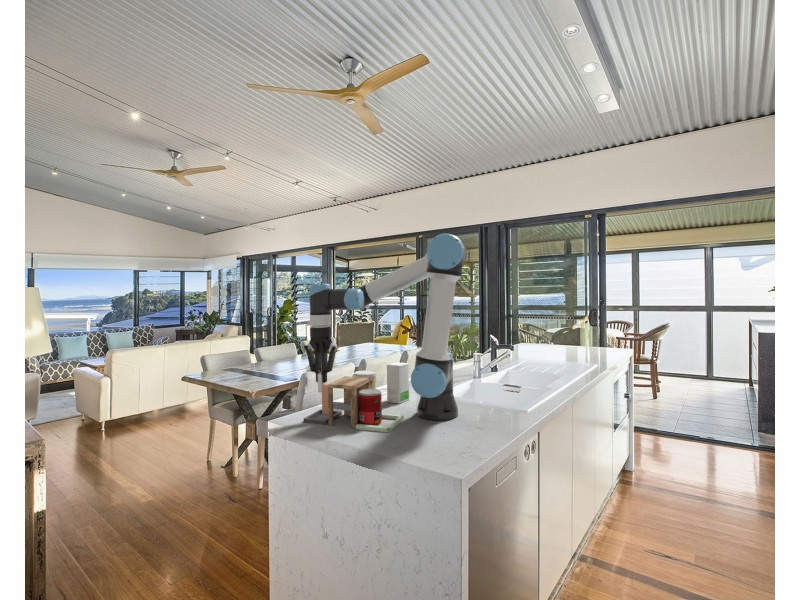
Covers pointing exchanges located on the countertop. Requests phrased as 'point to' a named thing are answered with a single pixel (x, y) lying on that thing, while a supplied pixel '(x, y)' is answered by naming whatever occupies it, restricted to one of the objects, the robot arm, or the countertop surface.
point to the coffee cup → (367, 375)
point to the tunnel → (347, 395)
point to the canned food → (370, 407)
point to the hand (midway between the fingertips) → (321, 391)
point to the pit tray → (321, 417)
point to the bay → (381, 428)
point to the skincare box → (397, 382)
